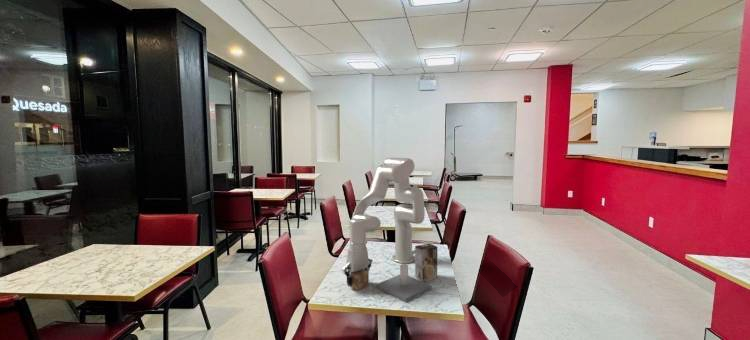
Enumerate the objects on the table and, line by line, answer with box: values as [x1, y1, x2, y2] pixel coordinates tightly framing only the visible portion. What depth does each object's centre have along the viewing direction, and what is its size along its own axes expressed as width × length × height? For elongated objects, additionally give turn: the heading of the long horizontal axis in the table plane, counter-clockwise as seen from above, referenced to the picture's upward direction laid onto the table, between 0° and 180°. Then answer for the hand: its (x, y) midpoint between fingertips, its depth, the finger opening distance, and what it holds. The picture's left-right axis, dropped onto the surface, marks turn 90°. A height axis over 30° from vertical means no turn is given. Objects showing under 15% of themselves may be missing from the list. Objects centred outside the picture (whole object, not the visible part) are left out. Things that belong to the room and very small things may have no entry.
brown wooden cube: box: [346, 269, 370, 291], centre depth 143 cm, size 7×7×7 cm
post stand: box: [375, 263, 433, 303], centre depth 141 cm, size 18×18×10 cm
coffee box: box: [414, 243, 438, 283], centre depth 152 cm, size 9×6×16 cm
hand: (357, 281), depth 144 cm, fingers open, 9 cm apart
